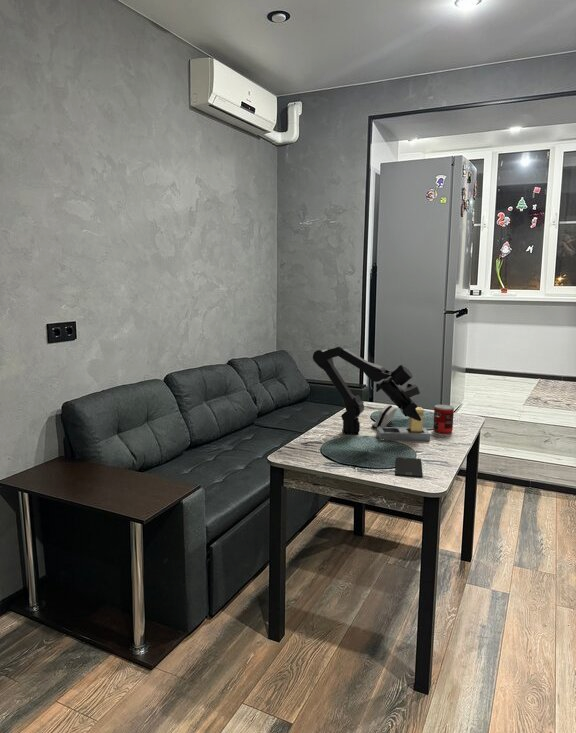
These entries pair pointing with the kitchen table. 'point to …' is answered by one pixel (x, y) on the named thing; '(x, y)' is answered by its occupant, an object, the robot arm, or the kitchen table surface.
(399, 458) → the cell phone
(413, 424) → the tan tall block
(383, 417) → the game console
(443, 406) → the canned food
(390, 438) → the grey cinder block
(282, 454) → the kitchen table surface
